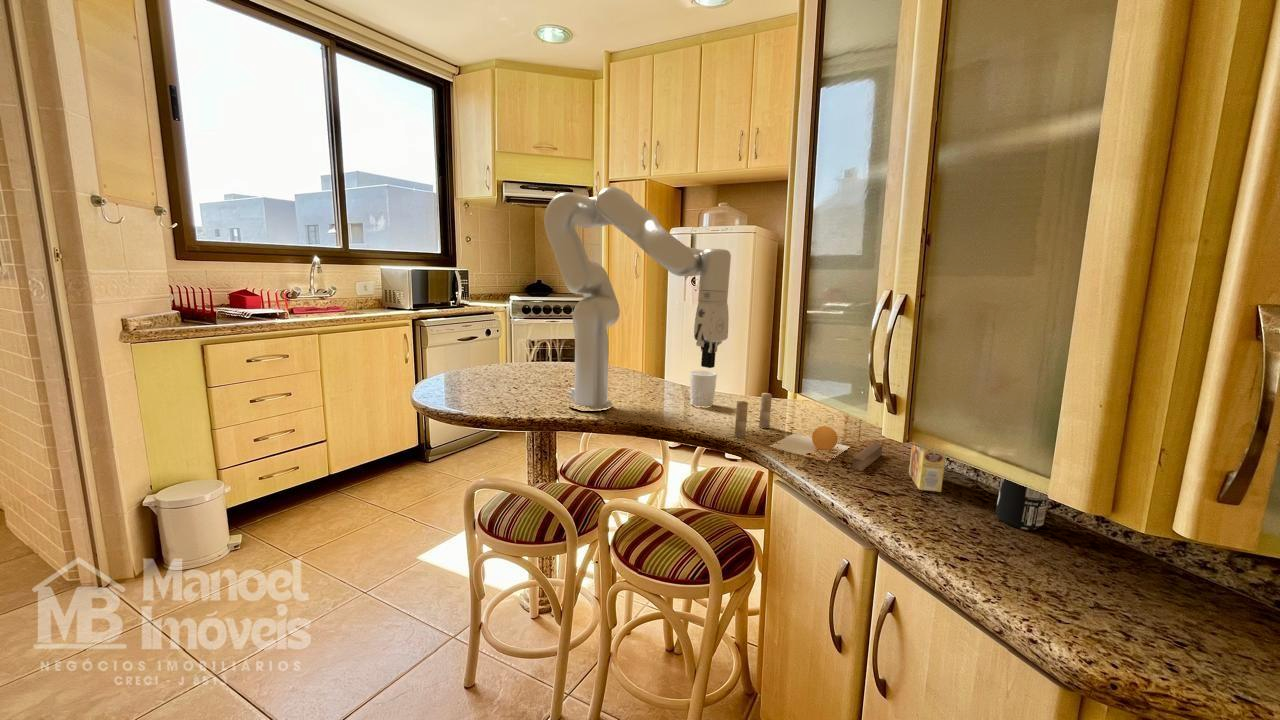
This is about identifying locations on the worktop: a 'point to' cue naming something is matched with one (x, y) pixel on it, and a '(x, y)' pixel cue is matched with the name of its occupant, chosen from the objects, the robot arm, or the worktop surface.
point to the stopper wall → (867, 456)
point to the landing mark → (803, 445)
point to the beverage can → (1020, 506)
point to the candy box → (926, 469)
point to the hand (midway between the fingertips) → (707, 366)
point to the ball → (824, 438)
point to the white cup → (702, 387)
